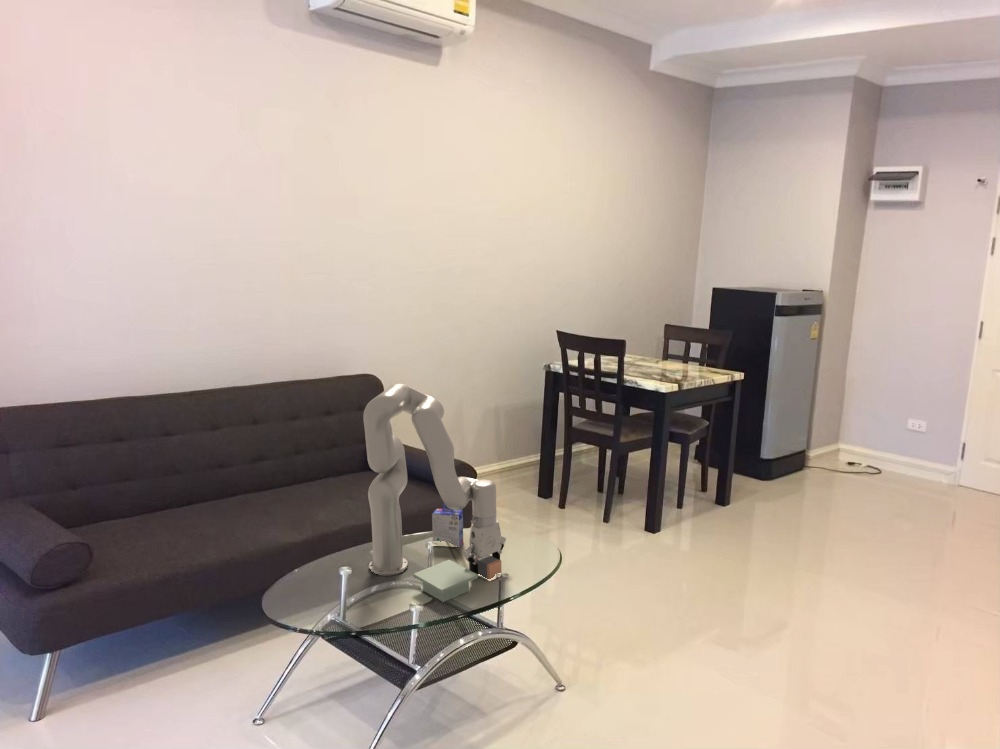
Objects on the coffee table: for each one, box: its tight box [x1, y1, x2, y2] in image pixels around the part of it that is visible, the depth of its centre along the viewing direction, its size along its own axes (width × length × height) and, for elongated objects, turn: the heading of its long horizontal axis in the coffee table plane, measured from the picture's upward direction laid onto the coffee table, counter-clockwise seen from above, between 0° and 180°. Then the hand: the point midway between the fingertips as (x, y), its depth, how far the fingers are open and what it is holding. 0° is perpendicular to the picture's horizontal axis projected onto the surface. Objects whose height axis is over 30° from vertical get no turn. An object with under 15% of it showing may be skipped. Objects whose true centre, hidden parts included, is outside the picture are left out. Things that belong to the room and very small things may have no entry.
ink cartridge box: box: [431, 502, 464, 549], centre depth 277 cm, size 10×6×14 cm, turn 78°
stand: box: [413, 559, 479, 603], centre depth 246 cm, size 14×14×6 cm
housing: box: [468, 554, 502, 579], centre depth 257 cm, size 10×5×6 cm, turn 42°
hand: (485, 569), depth 257 cm, fingers open, 8 cm apart
